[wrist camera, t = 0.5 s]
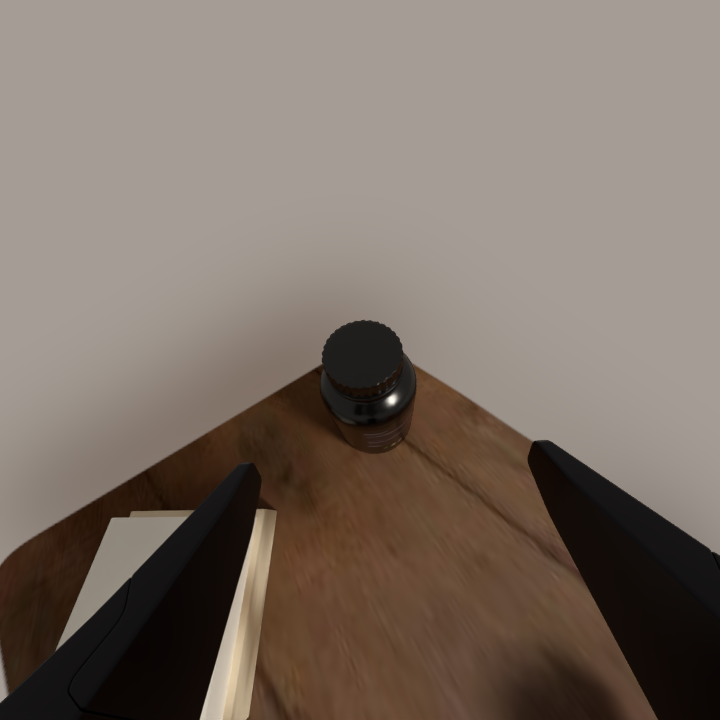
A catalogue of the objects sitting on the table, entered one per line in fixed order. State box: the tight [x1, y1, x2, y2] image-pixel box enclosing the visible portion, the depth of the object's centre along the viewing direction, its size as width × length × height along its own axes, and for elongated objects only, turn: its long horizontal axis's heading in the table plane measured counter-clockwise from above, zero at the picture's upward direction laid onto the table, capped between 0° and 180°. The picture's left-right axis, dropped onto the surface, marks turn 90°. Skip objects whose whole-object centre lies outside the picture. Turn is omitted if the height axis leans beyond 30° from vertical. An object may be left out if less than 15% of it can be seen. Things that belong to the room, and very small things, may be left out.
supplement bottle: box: [320, 320, 417, 454], centre depth 20 cm, size 7×7×12 cm
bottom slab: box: [129, 509, 277, 720], centre depth 19 cm, size 11×11×2 cm
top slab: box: [56, 517, 257, 720], centre depth 17 cm, size 10×10×2 cm
